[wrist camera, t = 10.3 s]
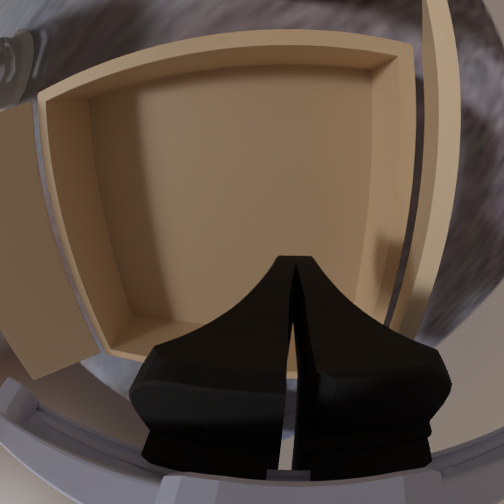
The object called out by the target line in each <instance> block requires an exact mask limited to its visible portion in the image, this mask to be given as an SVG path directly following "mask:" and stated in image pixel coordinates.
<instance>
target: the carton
mask: <svg viewBox="0 0 504 504" xmlns="http://www.w3.org/2000/svg"><path fill="white" fill-rule="evenodd" d="M38 115H39V129H40V139H41V148H42V155H43V162H44V169H45V175H46V180H47V186H48V191H49V196H50V200H51V205H52V209H53V213H54V217H55V221H56V225H57V229H58V232H59V236H60V239H61V243H62V246H63V249H64V253H65V256H66V259H67V262H68V265H69V268H70V271H71V273H72V276H73V279H74V282H75V284H76V287H77V290H78V292H79V295H80V297H81V300H82V302H83V305H84V307H85V309H86V312H87V314H88V316H89V319H90V321H91V323H92V325H93V327H94V330H95V332H96V334H97V336H98V338H99V340H100V342H101V344H102V346H103V348H104V350H105V352H106V354H109V355H113V356H117V357H121V358H126V359H130V360H135V361H140V362H144V361H145V359H146V357H147V356H148V354H149V353H150V352H151V350H152V349H153V347H154V346H155V345H158V344H161V343H164V342H167V341H170V340H172V339H175V338H178V337H180V336H183V335H185V334H187V333H190V332H192V331H194V330H196V329H198V328H200V327H202V326H204V325H206V324H208V323H210V322H211V321H213V320H215V319H216V318H218V317H219V316H221V315H222V314H224V313H225V312H227V311H228V310H230V309H231V308H233V307H234V306H235V305H236V304H237V303H239V302H240V301H241V300H242V299H243V298H244V297H245V296H246V295H247V294H248V293H249V292H250V291H251V290H252V289H253V288H254V287H255V286H256V285H257V284H258V283H259V282H260V280H261V279H262V278H263V277H264V275H265V274H266V273H267V271H268V270H269V269H270V267H271V266H272V264H273V263H274V261H275V259H276V257H278V256H279V255H288V256H312V257H313V258H314V259H315V261H316V262H317V264H318V265H319V266H320V268H321V269H322V270H323V272H324V273H325V274H326V276H327V277H328V278H329V279H330V280H331V281H332V283H333V284H334V285H335V286H336V287H337V288H338V289H339V290H340V291H341V292H342V293H343V294H344V295H345V296H346V297H347V298H348V299H349V300H350V301H351V302H353V303H354V304H355V305H356V306H357V307H359V308H360V309H361V310H362V311H364V312H365V313H366V314H368V315H369V316H371V317H372V318H374V319H375V320H377V321H378V322H380V323H381V324H384V321H385V317H386V314H387V310H388V307H389V303H390V300H391V296H392V292H393V288H394V284H395V280H396V276H397V272H398V267H399V263H400V258H401V253H402V248H403V243H404V238H405V232H406V226H407V220H408V214H409V207H410V199H411V191H412V182H413V171H414V158H415V140H416V87H415V70H414V58H413V48H412V44H408V43H404V42H400V41H395V40H391V39H386V38H380V37H375V36H369V35H362V34H355V33H347V32H337V31H325V30H305V29H272V30H252V31H240V32H230V33H222V34H214V35H208V36H201V37H196V38H190V39H185V40H180V41H175V42H171V43H167V44H162V45H158V46H155V47H151V48H147V49H144V50H140V51H137V52H134V53H130V54H127V55H124V56H121V57H118V58H115V59H112V60H110V61H107V62H104V63H102V64H99V65H96V66H94V67H91V68H89V69H87V70H84V71H82V72H80V73H77V74H75V75H73V76H71V77H69V78H66V79H64V80H62V81H60V82H58V83H56V84H54V85H52V86H50V87H48V88H47V89H45V90H43V91H41V92H39V93H38ZM286 378H287V379H297V361H296V350H295V338H294V327H293V326H292V333H291V340H290V346H289V353H288V359H287V376H286Z"/></svg>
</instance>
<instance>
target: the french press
mask: <svg viewBox="0 0 504 504" xmlns="http://www.w3.org/2000/svg"><path fill="white" fill-rule="evenodd" d="M33 57H34V43H33V36H32V35H31V34H30V32H29V31H28V30H27V29H19V30H17V31H16V32H14V33H12V34H11V35H10V36H8V37H2V38H0V112H1V111H4V110H7V109H9V108H12V107H15V106H18V103H19V101H20V99H21V97H22V95H23V94H24V92H25V90H26V86H27V83H28V80H29V77H30V74H31V71H32V63H33Z"/></svg>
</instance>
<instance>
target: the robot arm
mask: <svg viewBox="0 0 504 504" xmlns="http://www.w3.org/2000/svg"><path fill="white" fill-rule="evenodd" d="M292 326H293V327H294V338H295V350H296V361H297V401H296V420H295V435H294V448H293V459H292V470H278V465H279V464H278V463H279V455H280V448H281V438H282V428H283V418H284V406H285V394H286V376H287V359H288V353H289V346H290V340H291V333H292ZM451 386H452V383H451V379H450V377H449V374H448V371H447V369H446V367H445V364H444V362H443V360H442V358H441V356H440V354H439V352H438V350H436V349H434V348H431V347H429V346H426V345H424V344H421V343H419V342H416V341H414V340H411V339H409V338H407V337H405V336H403V335H401V334H399V333H397V332H395V331H393V330H392V329H390V328H388V327H386V326H385V325H383V324H381V323H380V322H378V321H377V320H375V319H374V318H372V317H371V316H369V315H368V314H366V313H365V312H364V311H362V310H361V309H360V308H359V307H357V306H356V305H355V304H354V303H353V302H351V301H350V300H349V299H348V298H347V297H346V296H345V295H344V294H343V293H342V292H341V291H340V290H339V289H338V288H337V287H336V286H335V285H334V284H333V283H332V281H331V280H330V279H329V278H328V277H327V276H326V274H325V273H324V272H323V270H322V269H321V268H320V266H319V265H318V264H317V262H316V261H315V259H314V258H313V257H312V256H288V255H279V256H278V257H276V259H275V261H274V263H273V264H272V266H271V267H270V269H269V270H268V271H267V273H266V274H265V275H264V277H263V278H262V279H261V280H260V282H259V283H258V284H257V285H256V286H255V287H254V288H253V289H252V290H251V291H250V292H249V293H248V294H247V295H246V296H245V297H244V298H243V299H242V300H241V301H240V302H239V303H237V304H236V305H235V306H234V307H233V308H231V309H230V310H228V311H227V312H225V313H224V314H222V315H221V316H219V317H218V318H216V319H215V320H213V321H211V322H210V323H208V324H206V325H204V326H202V327H200V328H198V329H196V330H194V331H192V332H190V333H187V334H185V335H183V336H180V337H178V338H175V339H172V340H170V341H167V342H164V343H161V344H158V345H155V346H154V347H153V349H152V350H151V352H150V353H149V354H148V356H147V357H146V359H145V361H144V363H143V364H142V366H141V368H140V370H139V372H138V374H137V376H136V378H135V380H134V382H133V384H132V386H131V388H130V390H129V398H130V400H131V403H132V405H133V407H134V408H135V410H136V412H137V413H138V414H139V416H140V417H141V419H142V420H143V421H144V423H145V424H146V426H147V427H148V429H149V430H150V432H149V435H148V438H147V440H146V443H145V445H144V447H141V446H138V445H135V444H132V443H129V442H126V441H123V440H120V439H118V438H115V437H112V436H109V435H107V434H104V433H102V432H99V431H97V430H94V429H92V428H90V427H87V426H85V425H83V424H80V423H78V422H76V421H74V420H72V419H70V418H68V417H66V416H64V415H62V414H60V413H58V412H56V411H54V410H52V409H50V408H48V407H46V406H45V405H43V404H41V403H40V402H39V400H38V399H37V397H36V396H35V395H34V394H33V393H32V392H31V391H30V390H29V389H28V388H27V387H26V386H24V385H23V384H21V383H19V382H18V381H16V380H15V379H13V378H11V377H8V379H7V380H6V382H5V383H4V384H3V385H2V387H1V388H0V444H1V445H2V446H3V447H4V448H5V449H6V450H7V451H9V453H10V454H12V455H13V456H14V457H15V458H16V459H17V460H18V461H20V462H21V463H22V464H23V465H24V466H26V467H27V468H28V469H29V470H30V471H32V472H33V473H34V474H36V475H37V476H38V477H40V478H41V479H42V480H44V481H45V482H46V483H48V484H49V485H50V486H52V487H53V488H55V489H56V490H58V491H59V492H61V493H62V494H64V495H65V496H67V497H68V498H70V499H71V500H73V501H75V502H76V503H78V504H497V503H499V502H500V501H502V500H503V499H504V427H502V428H500V429H498V430H495V431H493V432H491V433H488V434H486V435H484V436H481V437H479V438H476V439H473V440H471V441H468V442H465V443H463V444H460V445H457V446H454V447H451V448H447V449H444V450H441V451H438V452H434V453H431V452H430V447H429V442H428V438H427V437H429V436H430V435H431V432H432V430H431V427H430V423H429V421H430V420H431V419H432V417H433V416H434V415H435V414H436V412H437V411H438V410H439V409H440V407H441V406H442V405H443V404H444V402H445V400H446V399H447V397H448V395H449V393H450V391H451Z"/></svg>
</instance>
